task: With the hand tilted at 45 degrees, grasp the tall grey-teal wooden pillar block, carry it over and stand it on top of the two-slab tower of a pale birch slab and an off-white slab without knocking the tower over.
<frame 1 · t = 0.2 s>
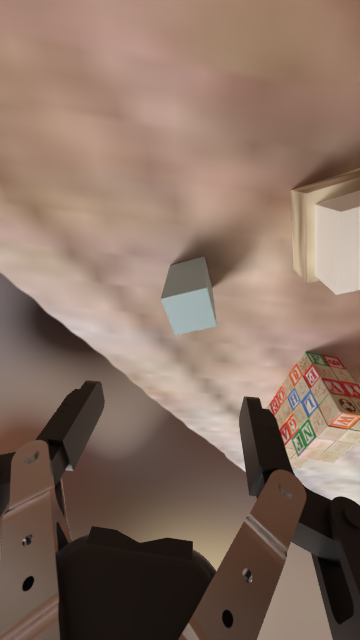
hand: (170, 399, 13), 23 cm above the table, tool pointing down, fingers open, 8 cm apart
pillar block: (191, 276, 33), on the table
stack of blocks: (292, 391, 46), on the table
tower bottom slab: (334, 220, 28), on the table
tower top slab: (355, 231, 24), point 5 cm above the table
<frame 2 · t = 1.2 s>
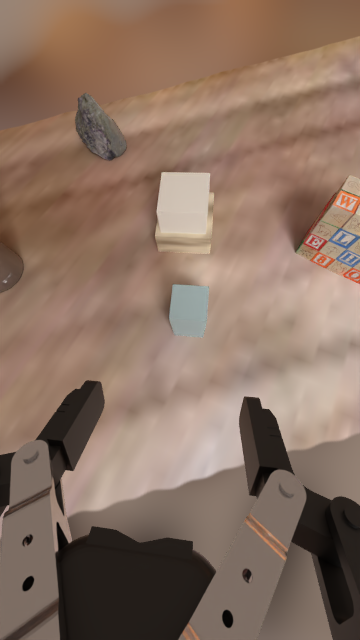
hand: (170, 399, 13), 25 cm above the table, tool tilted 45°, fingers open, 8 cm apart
pillar block: (189, 322, 40), on the table
mineral rock: (103, 143, 54), on the table
stack of blocks: (354, 267, 42), on the table
tower bottom slab: (185, 232, 46), on the table, touching tower top slab
tower top slab: (184, 214, 41), point 5 cm above the table, touching tower bottom slab
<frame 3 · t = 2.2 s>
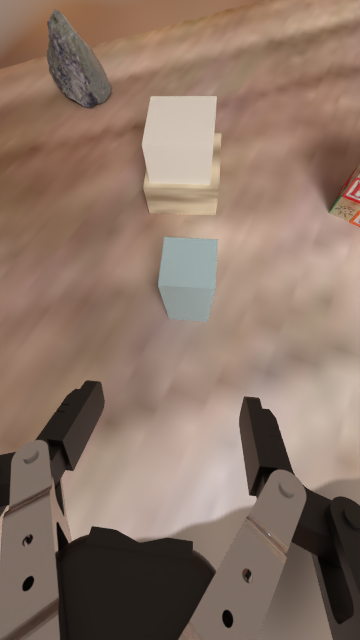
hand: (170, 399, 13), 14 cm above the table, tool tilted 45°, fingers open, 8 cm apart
pillar block: (189, 302, 30), on the table
mineral rock: (84, 90, 44), on the table
tower bottom slab: (184, 189, 36), on the table, touching tower top slab
tower top slab: (182, 161, 31), point 5 cm above the table, touching tower bottom slab
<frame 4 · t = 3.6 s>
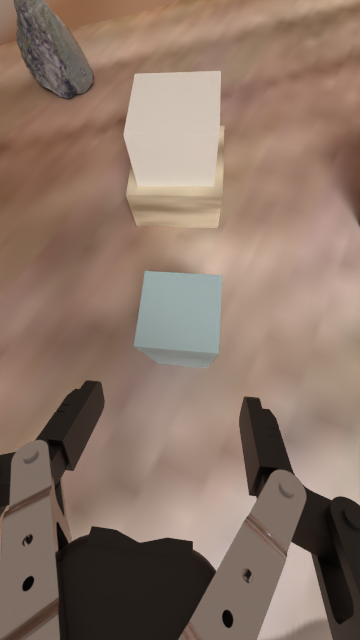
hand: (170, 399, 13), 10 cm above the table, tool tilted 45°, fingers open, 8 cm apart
pillar block: (184, 341, 23), on the table
mineral rock: (63, 79, 38), on the table
tower bottom slab: (179, 196, 29), on the table, touching tower top slab
tower top slab: (177, 157, 25), point 5 cm above the table, touching tower bottom slab
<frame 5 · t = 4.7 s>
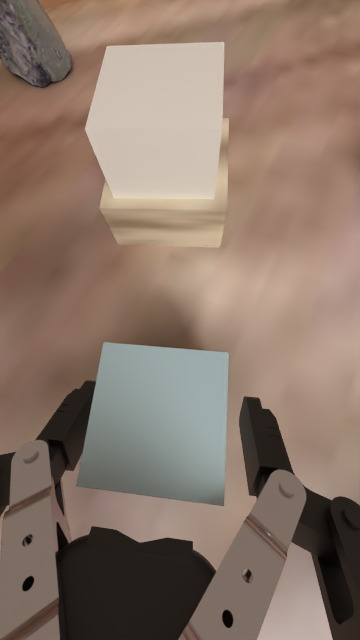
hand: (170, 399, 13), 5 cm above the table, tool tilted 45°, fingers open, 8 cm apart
pillar block: (176, 400, 18), on the table
mineral rock: (38, 65, 32), on the table
tower bottom slab: (172, 206, 24), on the table
tower top slab: (167, 160, 19), point 5 cm above the table
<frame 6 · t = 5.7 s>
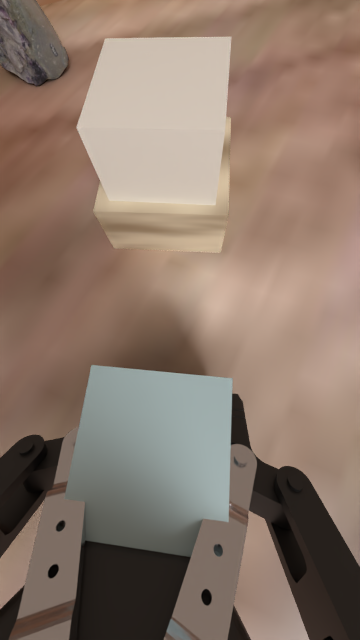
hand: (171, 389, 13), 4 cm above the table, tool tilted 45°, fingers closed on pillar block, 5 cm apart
pillar block: (174, 415, 17), on the table, touching gripper
mineral rock: (34, 62, 31), on the table
tower bottom slab: (171, 209, 23), on the table
tower top slab: (167, 162, 18), point 5 cm above the table
when the fingers open (15 cm above the table, at t = 11.2 s): pillar block drops 1 cm, resting on tower top slab.
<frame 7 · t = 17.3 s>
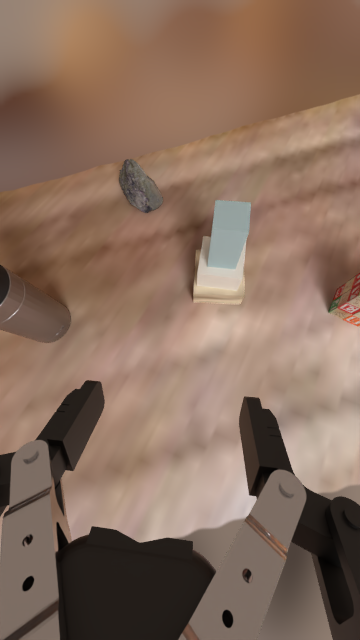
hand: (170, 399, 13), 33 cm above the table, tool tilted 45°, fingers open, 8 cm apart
pillar block: (222, 255, 41), point 10 cm above the table, touching tower top slab
mineral rock: (142, 195, 59), on the table
tower bottom slab: (216, 283, 50), on the table, touching tower top slab
tower top slab: (219, 270, 46), point 5 cm above the table, touching pillar block, tower bottom slab
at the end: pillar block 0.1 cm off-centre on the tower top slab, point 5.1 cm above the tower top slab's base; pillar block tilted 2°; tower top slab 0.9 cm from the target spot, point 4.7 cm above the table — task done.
